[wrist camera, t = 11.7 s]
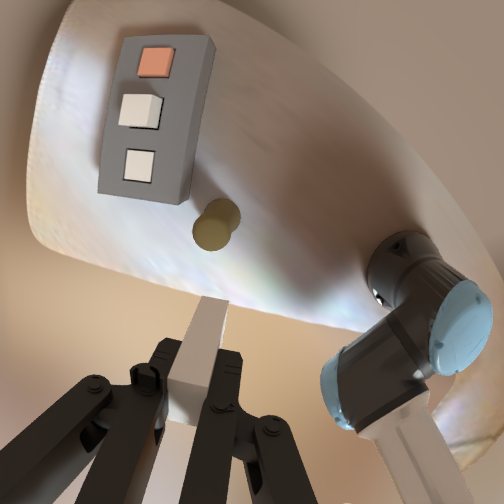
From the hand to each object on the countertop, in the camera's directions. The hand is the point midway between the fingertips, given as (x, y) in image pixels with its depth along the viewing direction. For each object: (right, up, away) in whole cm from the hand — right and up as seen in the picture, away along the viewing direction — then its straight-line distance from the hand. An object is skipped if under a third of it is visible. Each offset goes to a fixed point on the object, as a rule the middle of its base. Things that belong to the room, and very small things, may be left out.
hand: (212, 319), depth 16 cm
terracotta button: (-11, +32, +20) cm, 40 cm away
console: (-13, +26, +26) cm, 39 cm away
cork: (-3, +10, +31) cm, 33 cm away
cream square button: (-14, +18, +27) cm, 35 cm away
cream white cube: (-13, +24, +20) cm, 34 cm away
